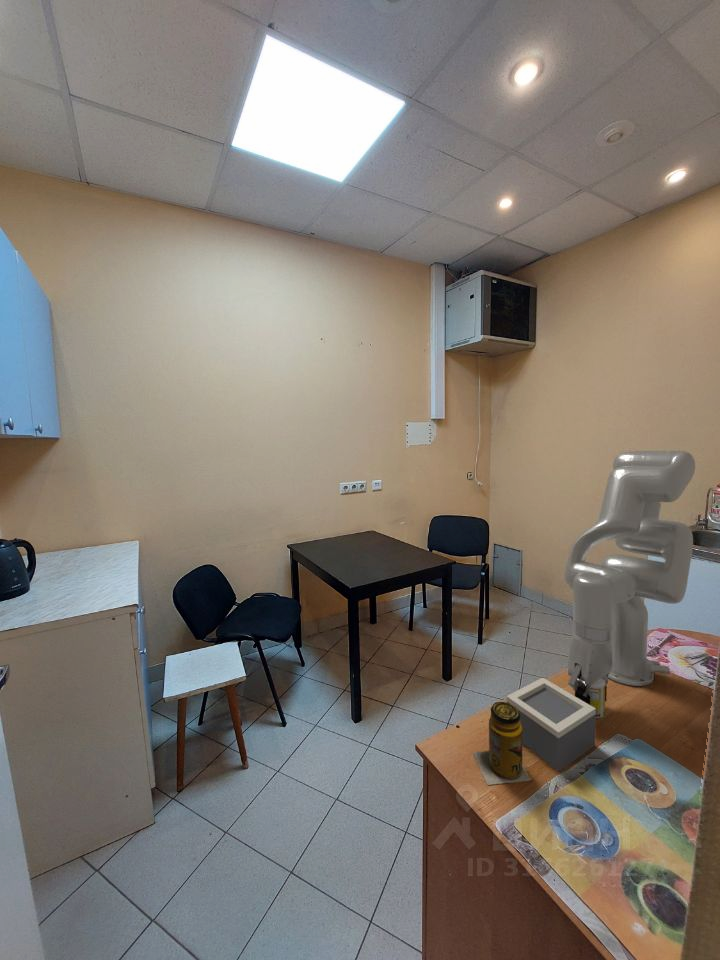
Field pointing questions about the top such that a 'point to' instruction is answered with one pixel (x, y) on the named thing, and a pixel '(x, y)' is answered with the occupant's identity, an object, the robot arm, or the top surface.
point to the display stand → (554, 722)
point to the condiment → (503, 747)
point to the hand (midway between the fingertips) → (590, 702)
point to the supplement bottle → (597, 696)
